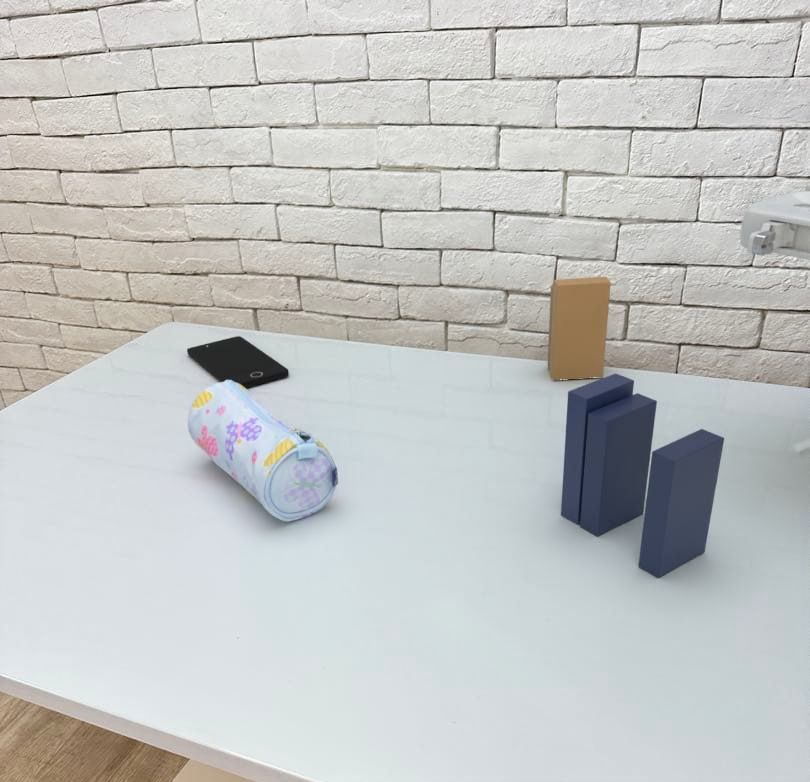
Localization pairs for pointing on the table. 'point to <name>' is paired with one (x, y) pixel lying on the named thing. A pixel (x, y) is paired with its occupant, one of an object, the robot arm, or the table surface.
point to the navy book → (679, 501)
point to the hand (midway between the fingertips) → (803, 254)
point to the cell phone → (237, 362)
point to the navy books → (606, 454)
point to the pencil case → (262, 451)
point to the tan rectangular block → (578, 327)
